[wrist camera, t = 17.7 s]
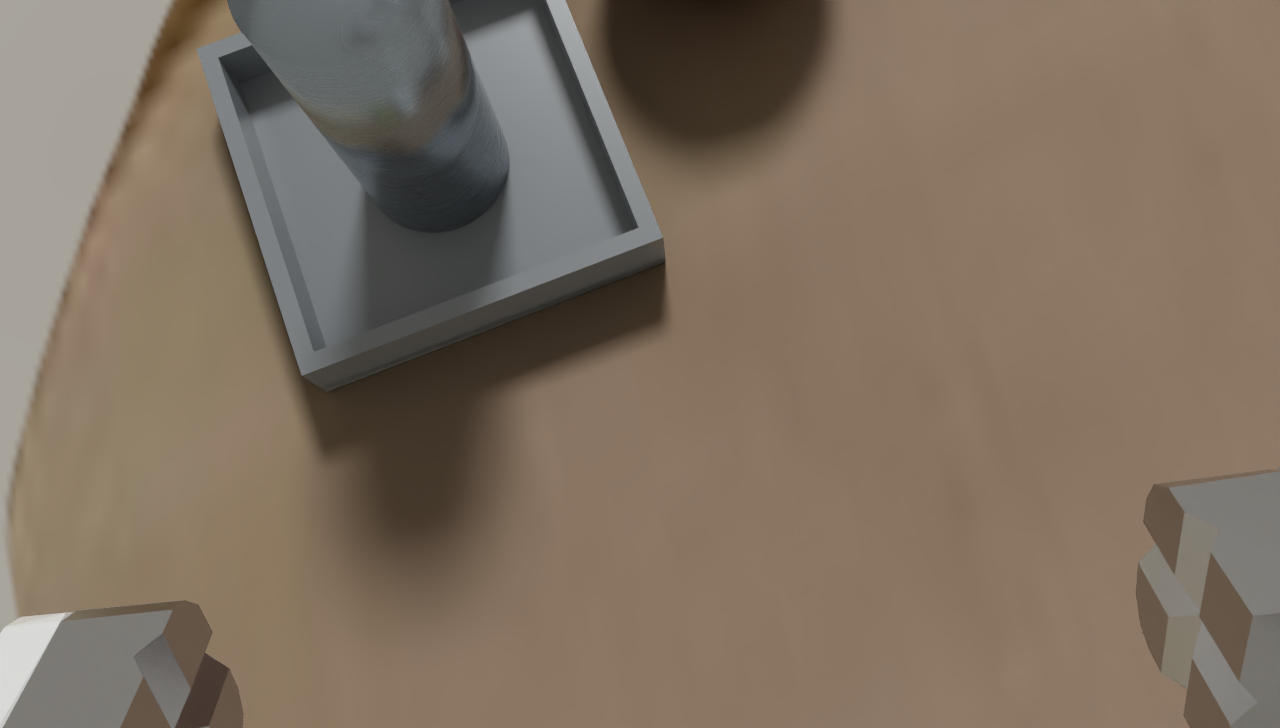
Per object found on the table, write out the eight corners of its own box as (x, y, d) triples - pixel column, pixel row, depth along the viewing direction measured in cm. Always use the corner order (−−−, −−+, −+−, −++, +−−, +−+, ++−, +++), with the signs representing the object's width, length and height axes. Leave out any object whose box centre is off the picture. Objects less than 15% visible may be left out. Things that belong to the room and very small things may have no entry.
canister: (482, 76, 41) (391, -146, 29) (529, 201, 40) (454, 24, 28) (347, 126, 41) (202, -76, 29) (390, 253, 40) (257, 96, 28)
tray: (543, -36, 42) (533, -77, 40) (665, 262, 40) (662, 237, 37) (225, 82, 42) (196, 48, 40) (326, 392, 39) (301, 375, 37)
